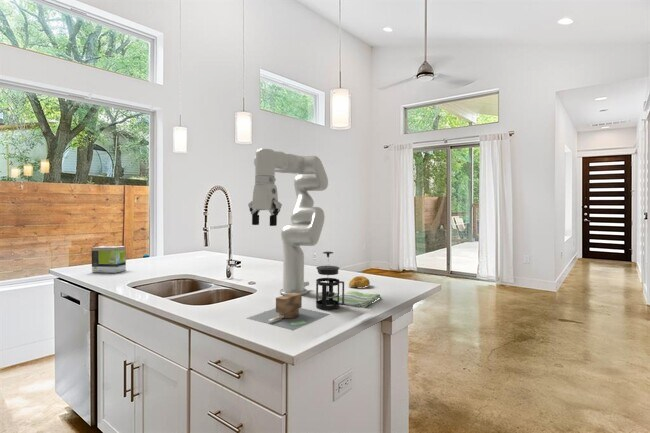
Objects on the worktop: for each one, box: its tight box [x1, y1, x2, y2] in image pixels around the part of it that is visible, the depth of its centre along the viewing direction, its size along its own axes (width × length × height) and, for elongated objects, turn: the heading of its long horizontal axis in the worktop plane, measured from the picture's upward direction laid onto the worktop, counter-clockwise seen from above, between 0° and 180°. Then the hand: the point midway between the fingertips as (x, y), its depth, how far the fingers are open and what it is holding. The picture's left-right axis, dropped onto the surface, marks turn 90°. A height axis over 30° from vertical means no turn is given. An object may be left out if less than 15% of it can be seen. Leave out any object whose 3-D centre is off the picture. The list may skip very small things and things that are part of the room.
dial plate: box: [246, 307, 330, 331], centre depth 134 cm, size 21×21×2 cm
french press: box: [315, 251, 345, 311], centre depth 145 cm, size 12×9×23 cm
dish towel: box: [333, 290, 382, 309], centre depth 159 cm, size 17×23×4 cm
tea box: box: [91, 245, 127, 274], centre depth 221 cm, size 15×10×15 cm, turn 84°
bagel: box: [348, 275, 371, 288], centre depth 188 cm, size 10×11×5 cm
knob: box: [268, 292, 303, 322], centre depth 132 cm, size 15×7×7 cm, turn 146°
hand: (264, 225), depth 146 cm, fingers open, 9 cm apart
